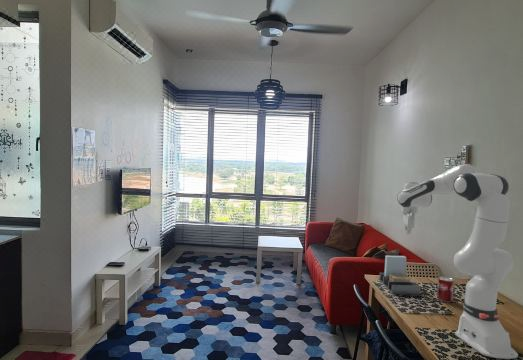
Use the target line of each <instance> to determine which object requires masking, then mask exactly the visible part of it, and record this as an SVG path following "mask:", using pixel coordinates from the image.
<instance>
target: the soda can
mask: <svg viewBox="0 0 523 360" xmlns="http://www.w3.org/2000/svg"><path fill="white" fill-rule="evenodd" d="M454 283H455V282H454V279H453V278H451V277H449V276H439V277H438V280H437V293H436V297H437V299H438V300H439V301H440V302H443V303H452V302H453V299H454V298H453V297H454V295H453V294H454V293H453V292H454Z"/></svg>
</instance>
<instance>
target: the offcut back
mask: <svg viewBox="0 0 523 360" xmlns="http://www.w3.org/2000/svg"><path fill="white" fill-rule="evenodd" d="M392 276H395V277H409V276H408V275H407V274H406V275H399V274H389V281H392Z"/></svg>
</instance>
